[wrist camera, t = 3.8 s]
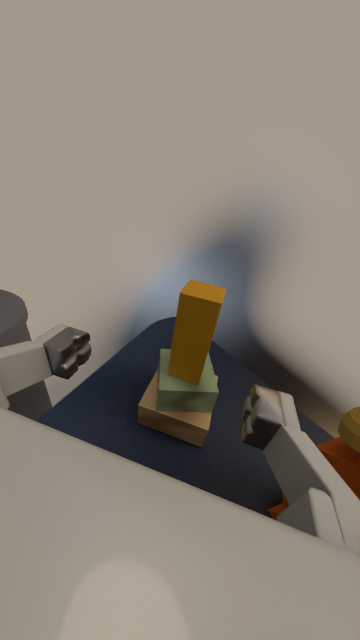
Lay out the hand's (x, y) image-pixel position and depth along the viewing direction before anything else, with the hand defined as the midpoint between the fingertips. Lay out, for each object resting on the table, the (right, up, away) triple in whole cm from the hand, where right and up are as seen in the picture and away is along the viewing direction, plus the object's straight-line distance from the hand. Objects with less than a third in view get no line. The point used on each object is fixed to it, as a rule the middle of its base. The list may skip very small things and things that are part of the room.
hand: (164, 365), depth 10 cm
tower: (+1, -11, +21) cm, 23 cm away
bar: (+2, -4, +16) cm, 17 cm away
